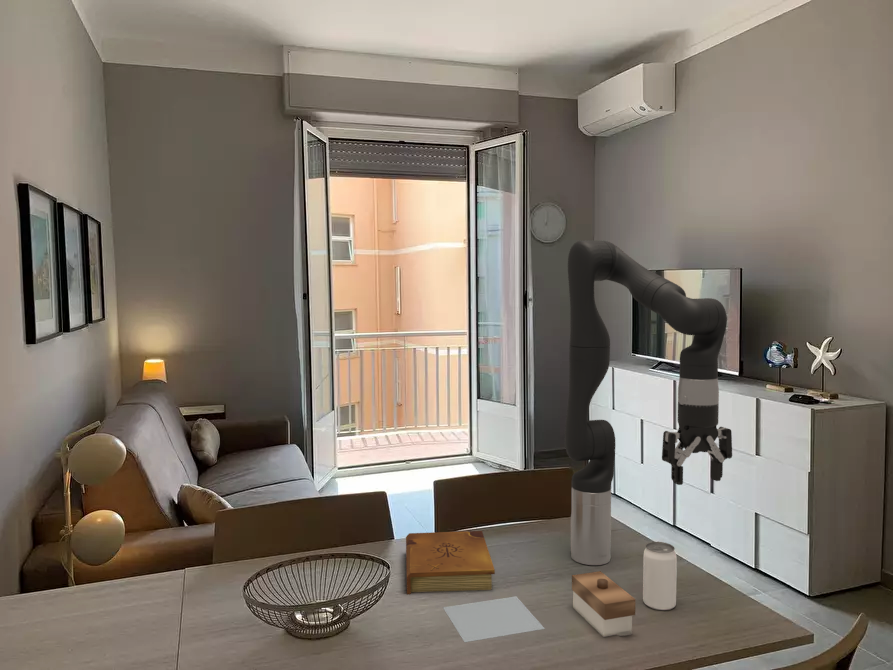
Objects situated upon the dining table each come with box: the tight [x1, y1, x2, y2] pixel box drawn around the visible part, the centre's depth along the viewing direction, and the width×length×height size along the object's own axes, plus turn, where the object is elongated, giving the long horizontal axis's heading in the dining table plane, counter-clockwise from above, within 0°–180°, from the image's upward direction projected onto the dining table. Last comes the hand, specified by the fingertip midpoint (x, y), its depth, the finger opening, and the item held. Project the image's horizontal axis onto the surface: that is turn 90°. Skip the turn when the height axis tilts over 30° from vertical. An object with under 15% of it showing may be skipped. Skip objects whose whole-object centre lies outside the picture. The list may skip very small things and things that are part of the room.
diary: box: [405, 530, 496, 595], centre depth 155 cm, size 23×19×6 cm
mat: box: [442, 595, 546, 643], centre depth 133 cm, size 14×16×1 cm
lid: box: [571, 570, 637, 620], centre depth 131 cm, size 13×6×4 cm, turn 17°
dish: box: [572, 590, 633, 638], centre depth 132 cm, size 12×6×4 cm, turn 17°
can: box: [642, 541, 678, 611], centre depth 139 cm, size 6×6×12 cm
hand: (696, 481), depth 134 cm, fingers open, 8 cm apart
